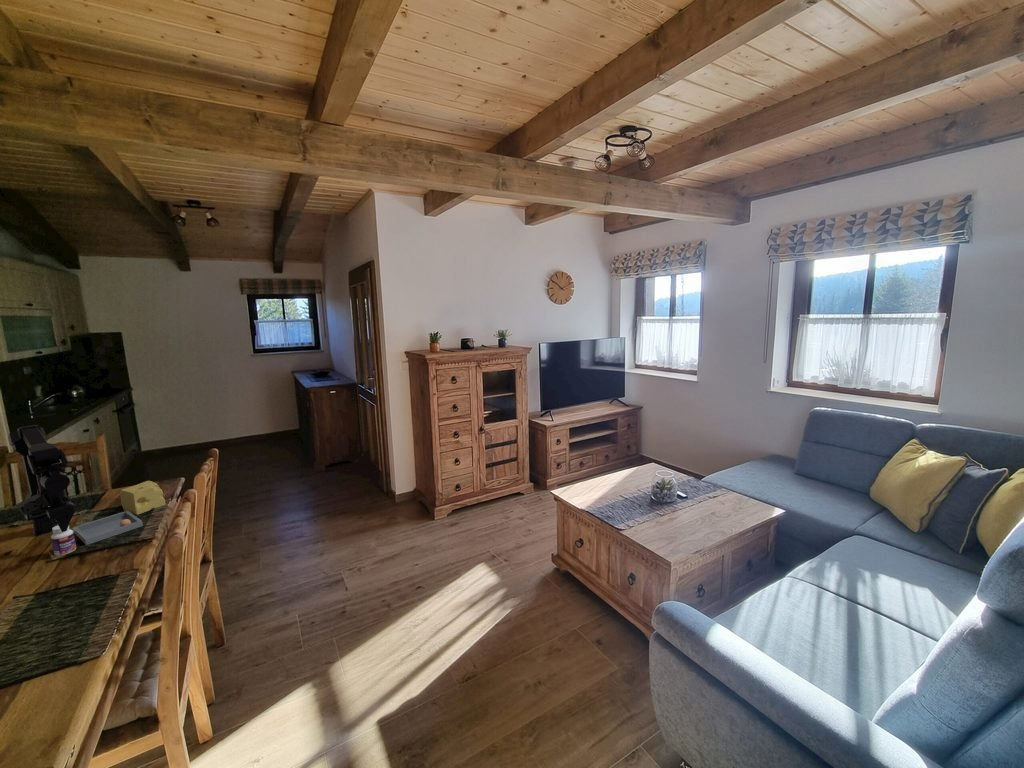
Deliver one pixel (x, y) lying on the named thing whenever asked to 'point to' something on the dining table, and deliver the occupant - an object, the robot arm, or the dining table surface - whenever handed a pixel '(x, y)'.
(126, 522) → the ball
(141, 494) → the cheese
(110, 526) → the tray
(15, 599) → the dining table surface
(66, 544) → the pill bottle
